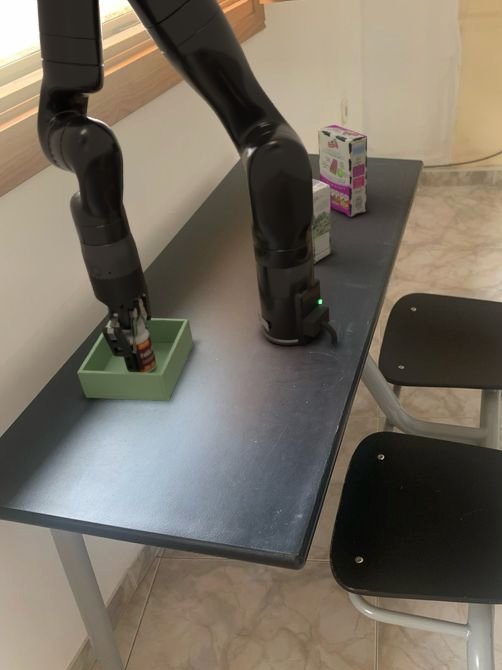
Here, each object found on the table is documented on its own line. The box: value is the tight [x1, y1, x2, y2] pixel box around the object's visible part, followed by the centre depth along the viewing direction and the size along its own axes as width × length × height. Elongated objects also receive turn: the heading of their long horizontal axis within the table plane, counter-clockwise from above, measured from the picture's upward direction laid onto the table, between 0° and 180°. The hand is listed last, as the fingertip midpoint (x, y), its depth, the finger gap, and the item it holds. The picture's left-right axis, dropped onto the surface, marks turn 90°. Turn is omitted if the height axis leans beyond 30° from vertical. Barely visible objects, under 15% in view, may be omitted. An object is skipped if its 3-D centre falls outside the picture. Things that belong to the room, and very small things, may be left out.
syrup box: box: [312, 178, 332, 265], centre depth 128 cm, size 6×6×14 cm
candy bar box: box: [317, 124, 368, 218], centre depth 144 cm, size 11×5×16 cm, turn 37°
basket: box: [76, 317, 194, 402], centre depth 105 cm, size 13×15×5 cm
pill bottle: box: [124, 317, 157, 373], centre depth 104 cm, size 5×5×8 cm
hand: (140, 359), depth 105 cm, fingers closed on pill bottle, 4 cm apart
